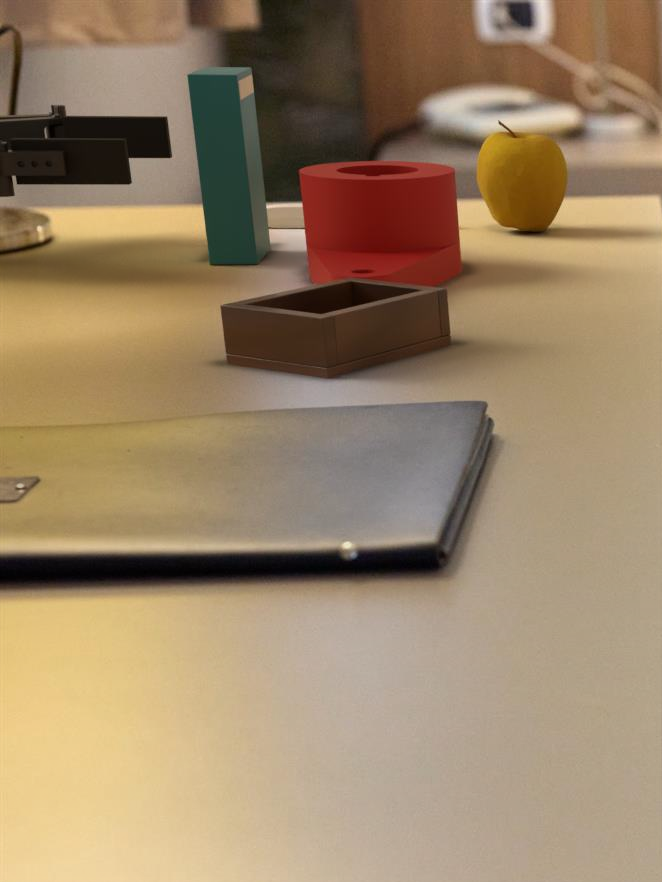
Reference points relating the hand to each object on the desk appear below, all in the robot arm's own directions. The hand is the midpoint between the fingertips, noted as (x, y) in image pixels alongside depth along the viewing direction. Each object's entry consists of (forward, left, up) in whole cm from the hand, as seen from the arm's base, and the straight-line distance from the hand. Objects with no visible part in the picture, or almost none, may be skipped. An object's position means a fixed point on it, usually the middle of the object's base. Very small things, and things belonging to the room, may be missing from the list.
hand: (150, 148), depth 127 cm
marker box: (+4, +3, -7) cm, 9 cm away
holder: (+31, -18, -7) cm, 37 cm away
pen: (+1, +17, -7) cm, 18 cm away
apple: (+13, +22, -7) cm, 26 cm away
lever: (+19, -1, -7) cm, 20 cm away
